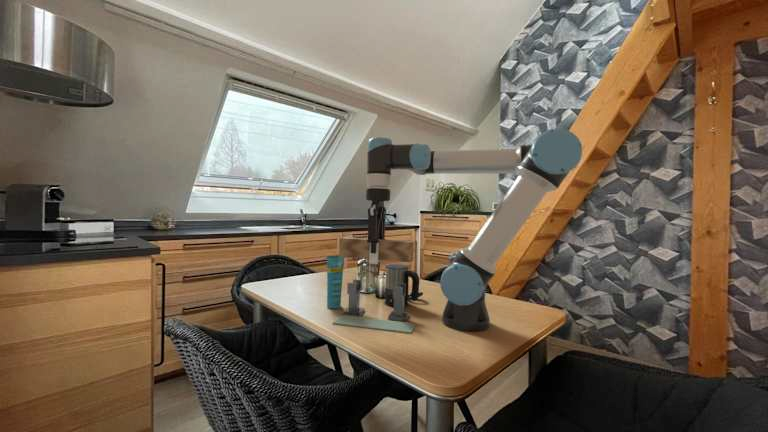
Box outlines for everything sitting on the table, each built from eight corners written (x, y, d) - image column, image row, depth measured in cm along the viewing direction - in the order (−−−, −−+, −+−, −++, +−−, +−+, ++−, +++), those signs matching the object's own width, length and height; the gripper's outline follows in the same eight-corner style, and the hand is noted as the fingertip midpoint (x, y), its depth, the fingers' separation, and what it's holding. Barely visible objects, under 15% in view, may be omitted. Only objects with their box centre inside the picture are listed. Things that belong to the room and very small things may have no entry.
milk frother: (381, 305, 128) (382, 266, 127) (390, 295, 143) (391, 260, 143) (418, 309, 124) (420, 269, 124) (424, 298, 139) (425, 263, 139)
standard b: (364, 310, 120) (365, 280, 120) (359, 316, 114) (360, 284, 114) (348, 309, 122) (349, 278, 122) (342, 314, 116) (343, 282, 115)
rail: (413, 260, 106) (413, 241, 105) (411, 262, 102) (411, 242, 102) (343, 255, 111) (344, 237, 111) (339, 256, 107) (339, 238, 107)
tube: (329, 310, 120) (331, 256, 120) (321, 307, 123) (323, 254, 123) (346, 306, 125) (347, 254, 125) (338, 303, 129) (339, 253, 128)
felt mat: (415, 324, 108) (415, 323, 108) (411, 333, 100) (411, 332, 100) (341, 316, 114) (341, 314, 114) (332, 323, 106) (332, 322, 106)
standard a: (409, 315, 117) (410, 284, 116) (405, 321, 110) (406, 288, 110) (392, 313, 118) (393, 282, 118) (387, 319, 112) (388, 286, 112)
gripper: (374, 189, 115) (371, 257, 116) (358, 186, 99) (355, 265, 99) (395, 190, 113) (393, 259, 114) (383, 186, 97) (380, 267, 97)
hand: (375, 262), depth 107 cm, fingers closed on rail, 4 cm apart
